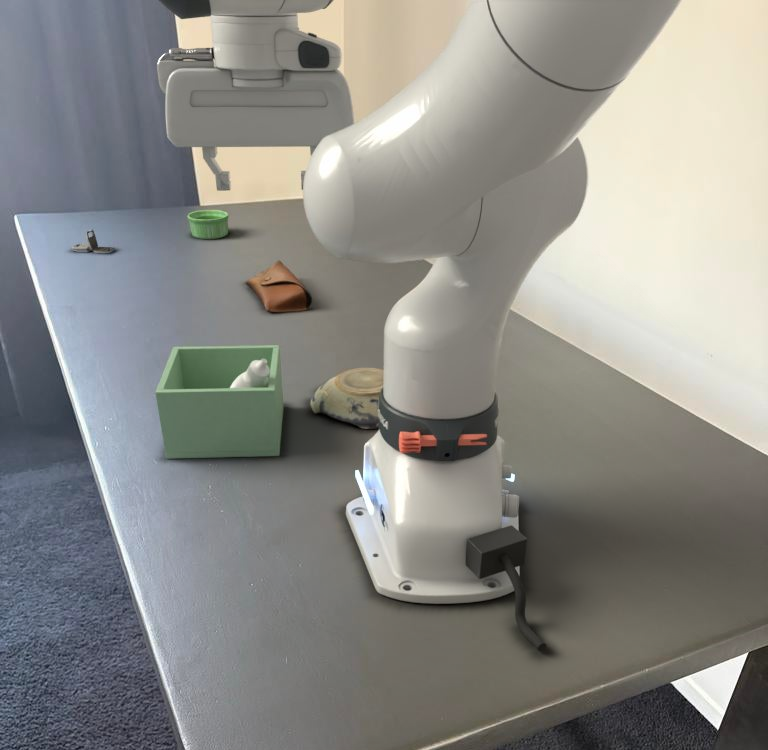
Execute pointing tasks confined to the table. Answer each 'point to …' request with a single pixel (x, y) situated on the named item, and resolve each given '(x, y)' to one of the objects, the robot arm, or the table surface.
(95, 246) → the strap clip
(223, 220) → the ramekin
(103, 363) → the table surface
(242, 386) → the eye dropper bottle
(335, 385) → the decorative bowl
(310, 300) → the sunglasses case
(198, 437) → the bin
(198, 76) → the robot arm
